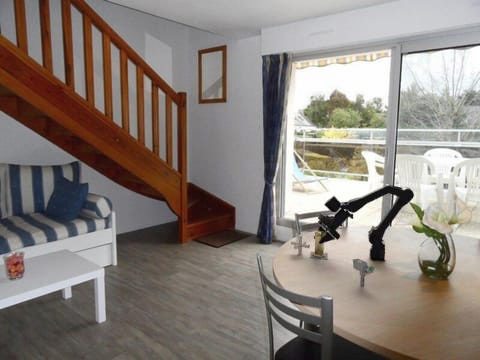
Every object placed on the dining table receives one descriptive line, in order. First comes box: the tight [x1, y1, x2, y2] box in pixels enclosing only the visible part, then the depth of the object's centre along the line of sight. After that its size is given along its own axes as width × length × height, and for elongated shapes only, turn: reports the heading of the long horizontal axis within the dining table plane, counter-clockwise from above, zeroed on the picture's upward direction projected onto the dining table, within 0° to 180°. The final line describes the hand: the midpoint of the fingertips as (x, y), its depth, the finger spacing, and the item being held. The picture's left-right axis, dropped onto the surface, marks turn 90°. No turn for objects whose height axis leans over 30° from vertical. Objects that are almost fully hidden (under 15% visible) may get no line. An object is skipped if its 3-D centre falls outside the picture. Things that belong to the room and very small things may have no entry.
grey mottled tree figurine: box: [352, 258, 375, 287], centre depth 150 cm, size 3×10×10 cm, turn 27°
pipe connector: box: [290, 234, 311, 256], centre depth 187 cm, size 10×10×10 cm
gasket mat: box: [309, 251, 329, 260], centre depth 185 cm, size 9×9×1 cm
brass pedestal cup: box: [312, 230, 326, 257], centre depth 184 cm, size 6×6×12 cm
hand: (316, 240), depth 184 cm, fingers open, 8 cm apart
